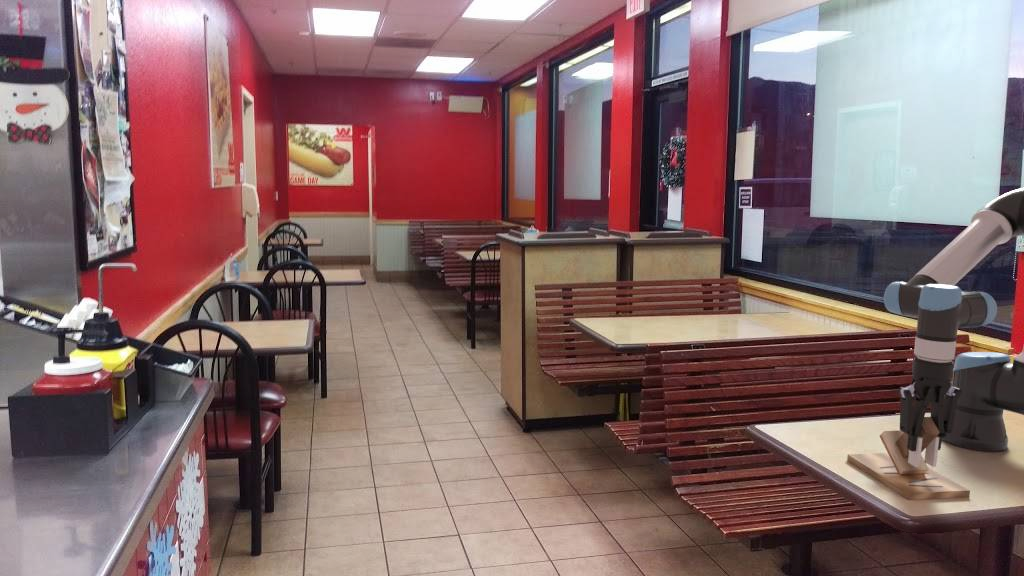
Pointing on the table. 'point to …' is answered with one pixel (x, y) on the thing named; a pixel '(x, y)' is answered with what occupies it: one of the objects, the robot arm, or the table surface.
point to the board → (908, 479)
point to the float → (899, 452)
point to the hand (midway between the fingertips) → (921, 464)
